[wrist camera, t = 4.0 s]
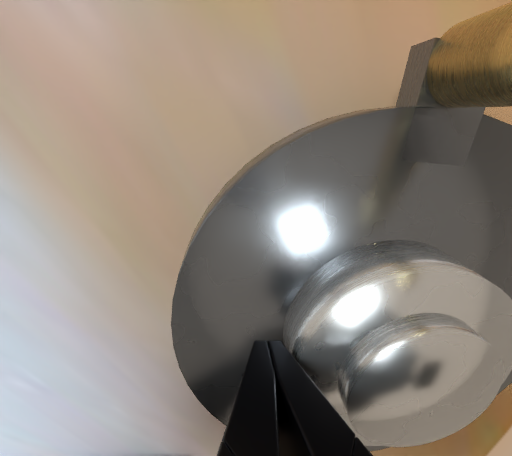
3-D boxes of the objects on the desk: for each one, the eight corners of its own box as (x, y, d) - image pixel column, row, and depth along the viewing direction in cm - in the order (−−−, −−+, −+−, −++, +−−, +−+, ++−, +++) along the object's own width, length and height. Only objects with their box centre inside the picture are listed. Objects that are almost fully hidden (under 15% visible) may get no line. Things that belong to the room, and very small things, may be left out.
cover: (433, 392, 12) (489, 467, 9) (272, 394, 11) (285, 478, 9) (500, 244, 9) (601, 293, 7) (297, 234, 9) (326, 285, 6)
